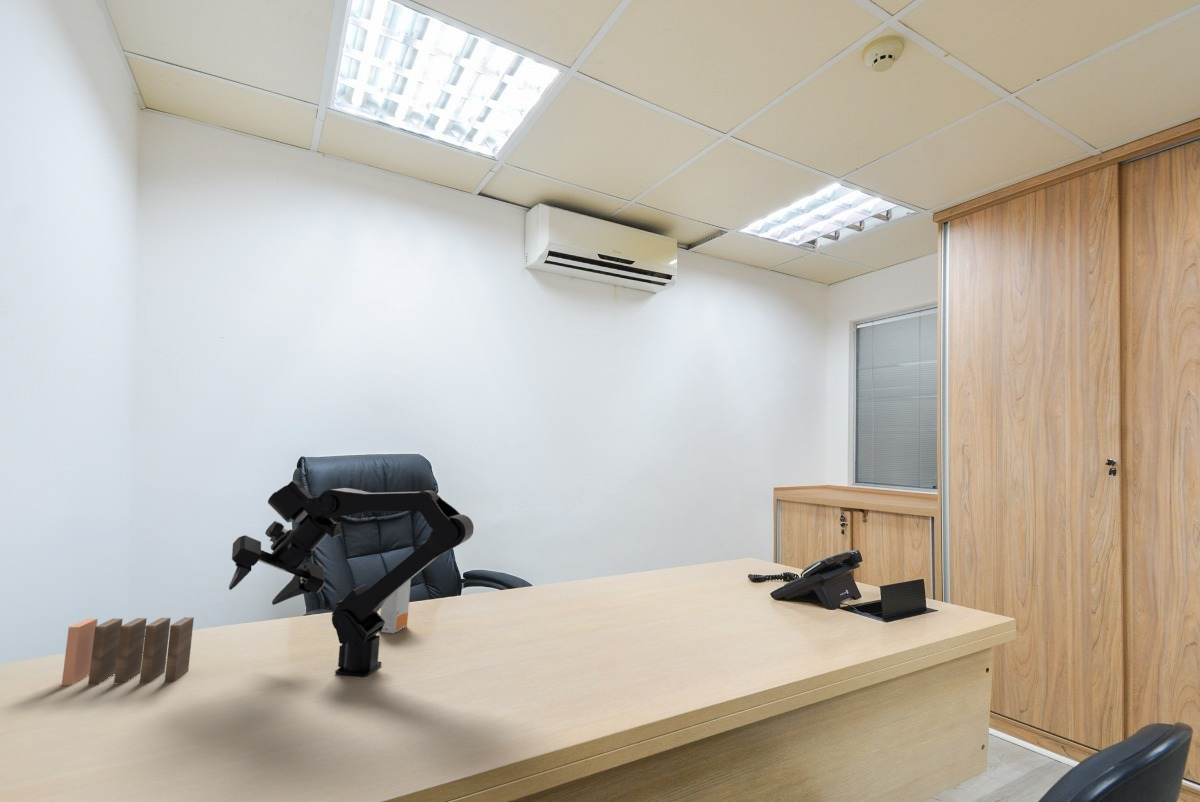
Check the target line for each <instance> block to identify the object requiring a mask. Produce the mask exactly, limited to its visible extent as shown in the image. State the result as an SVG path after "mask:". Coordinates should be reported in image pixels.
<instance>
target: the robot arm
mask: <svg viewBox="0 0 1200 802" xmlns="http://www.w3.org/2000/svg"><path fill="white" fill-rule="evenodd" d="M267 504H268V505H269V506H270V507H271V508H272V509H273V510H274V511H275V512H276V513H277V514H278V515H279V516H280V517H281V518H282V519H283V520H284V521H285V522H286V523H289V524H290V523H292V522H294V523H298V524H297V525H296V526H295V527H294V528H293V529H289V530H288V529H286V528H285V525H284V524H282V523H281V522H279V521H276V520H274V521H273V522H272V523H271V524H270V525H269V526H268V528H267V529H266V530H265V533H264V534H265V535H266V536H267V537H268V538H270V539H269V542H272V544H271V545H270V550H272V552H271V553H270V552H267V551H265V550H262V542H261V541H260V540H258V539H255V538H253V537H250V536H249V535H246V534H245V535H240V536H238V538H236V540H234V541H233V543H232V551H231V552H232V553H231V554H232V555H231V560H232V561H233V562H234V564H235V567H236V569H235V571H234V574H233V576H232V579H231V580H230V584H229V586H228V590H230V591H231V590H233V589H234V588H235V587H236V586H238V585H239V584H240V583H241V582H242V580H244V579H245V578H246V577H247V575H249V573H250V572H252V566H255V565H256V564H257V563H258V562H261V563H262V564H265V565H268V566H270V567H273V568H276V569H278V570H280V571H283V572H287V573H289V574H292V575H293V577H292V579H291V580H290V581H289V582H288V583H287V584H286V585H285V586H284V587H283V588H282V589H281V590H280V591H279V593H278V594H277V595H276V596H274V598H273V599H272V601H271V604H272V605H273V606H275V605H277V604H279V603H282V602H284V601H286V600H289V599H292V598H294V597H297V596H298V597H299V596H301V595H304V594H309V595H310V594H311V593H312V592H313V594H314V593H315V594H318V593H319V592H321V590H322V589H323V588H324V586H325V585H326V581H325V580H326V579H325V573H324V567H322V566H320V565H318V564H315V563H313V562H311V561H307V562H305V563H304V564H303V565H301V564H302V563H303V562H304V561H305V560H306V559H309V560H310V558H312V556H313V555H314V552H313V551H314V550H315V549H316V548H317V547H318V546H319V544H320V543H321V542H322V541H323V540H324V539H325V538H326V537H327V536H329V537H330V538H336V537H338V536H342V535H343V529H342V522H341V521H339V522H336V521H335V520H333V519H336V518H341V517H345V516H349V515H355V514H359V513H365V512H366V513H367V512H396V511H397V512H402V511H403V512H406V511H408V512H411V511H412V512H413V511H417V512H419V513H420V514H421V515H422V516H423V518H424V519H425V521H426V523H427V525H428V526H429V527H430V528H431V529H432V530H433V531H431V533H429V535H428V537H427V538H426V540H425V541H424V543H423V544H422V545H421V546H420V547H418V548H416V550H415V551H414V552H413V553H411V554H410V555H409V556H407V557H406V558H405V559H404V560H403V561H401V562H400V563H399V564H397V565H396V566H395V567H394V568H392V570H390V571H389V572H387V574H385V575H384V576H383V577H382V578H380V580H379V581H377V582H376V583H374V585H371V587H368V586H369V585H367V583H365V584H363V585H361V586H359V587H357V588H355V589H352V590H351V591H350V592H349V593H348V594H347V596H346V597H345V598H344V599H342V600H339V601H338V602H336V603H335V605H336V607H335V608H334V609H333V611H332V613H331V623H332V625H333V628H334V629H335V631H336V635H337V639H338V642H339V644H340V646H339V651H338V660H337V662H338V663H337V664H338V665H337V666H338V668H336V670H335V672H334V673H335V674H336V675H347V676H359V677H367V676H368V675H370V674H371V673H373V672H374V671H375V670H377V669H378V668H380V667H381V666H382V665H383V664H382V661H379V653H380V652H379V651H380V650H379V649H380V637H381V636H380V635H378V633H382V632H381V631H382V629H383V626H384V624H385V621H384V620H383V619H382V617H381V616H380V614H379V611H380V610H381V606H382V605H383V604H384V602H385V601H386V599H387V598H389V597H390V596H391V595H392V594H393V593H395V592H396V591H397V590H398V589H399V588H401V587H402V586H403V585H404V584H406V583H407V582H408V581H409V580H410V579H411V580H412V579H413V578H414V577H415V576H417V575H418V574H420V573H421V572H422V571H423V569H425V568H426V567H428V566H429V565H430V564H431V563H433V561H435V560H436V559H437V558H438V557H441V556H442V555H443V554H445V553H447V552H449V551H450V550H452V549H455V548H456V547H459V545H461V544H463V543H465V542H467V541H468V540H470V538H471V537H472V536H473V534H474V529H475V528H474V523H473V521H472V519H471V518H470V517H469V516H467V515H465V514H461V513H460V512H459V511H458V510H457V509H456V508H455V507H453V506H452V505H450V504H449V503H448V502H447V501H445V500H444V499H442V497H441V496H439V495H438V493H437V492H436V491H434V490H430V489H429V490H428V489H427V490H423V491H397V492H395V491H393V492H369V491H364V490H361V489H356V488H349V487H341V488H332V489H326V490H324V491H323V492H321V494H320V495H318V496H312V495H311V494H310V492H309V491H307V490H306V489H305V488H304V487H303V485H302V483H300V482H299V480H290V482H288V484H287V485H285V486H283V487H281V488H279V489H278V490H277V491H275V492H273V493H272V494H270V497H269V498H268V500H267Z"/></svg>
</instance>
